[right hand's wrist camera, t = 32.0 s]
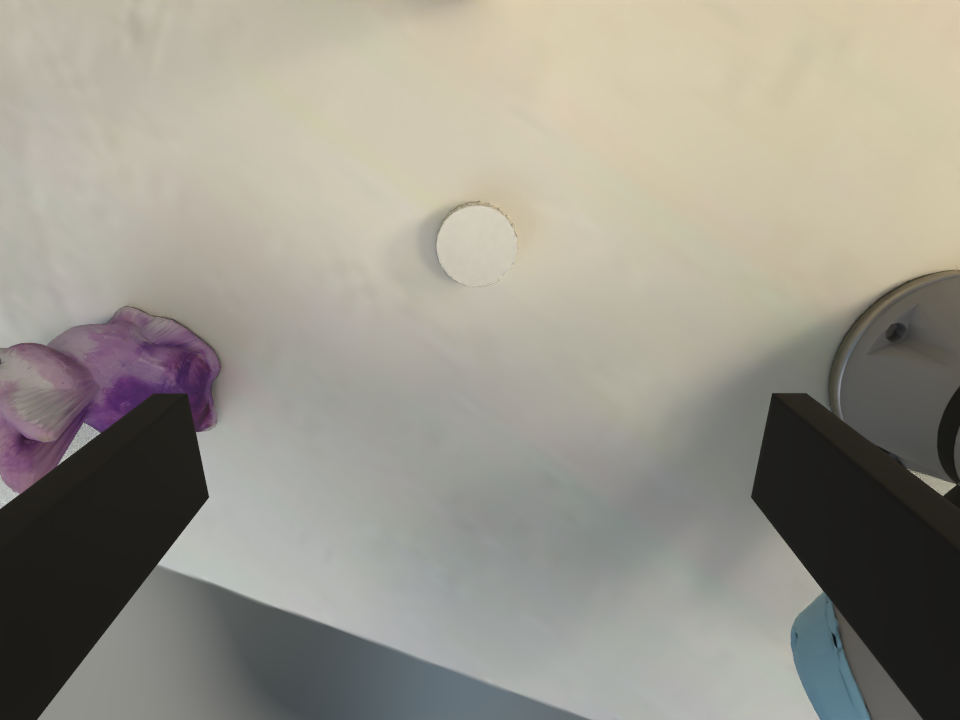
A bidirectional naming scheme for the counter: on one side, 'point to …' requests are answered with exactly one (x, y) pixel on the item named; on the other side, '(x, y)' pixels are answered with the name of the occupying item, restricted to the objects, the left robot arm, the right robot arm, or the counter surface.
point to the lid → (476, 244)
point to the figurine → (94, 386)
